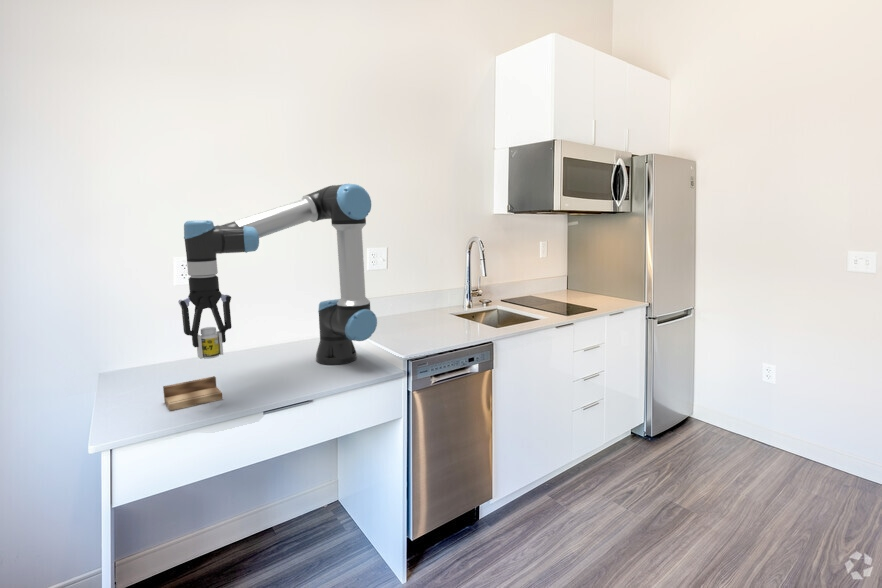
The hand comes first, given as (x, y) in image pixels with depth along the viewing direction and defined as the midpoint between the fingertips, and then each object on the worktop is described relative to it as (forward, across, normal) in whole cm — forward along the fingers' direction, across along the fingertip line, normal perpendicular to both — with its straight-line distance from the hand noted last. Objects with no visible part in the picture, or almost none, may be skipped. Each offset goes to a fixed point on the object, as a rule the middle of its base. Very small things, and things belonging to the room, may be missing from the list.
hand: (210, 355), depth 137 cm
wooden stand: (+14, +4, -5) cm, 16 cm away
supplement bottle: (+1, 0, 0) cm, 1 cm away
